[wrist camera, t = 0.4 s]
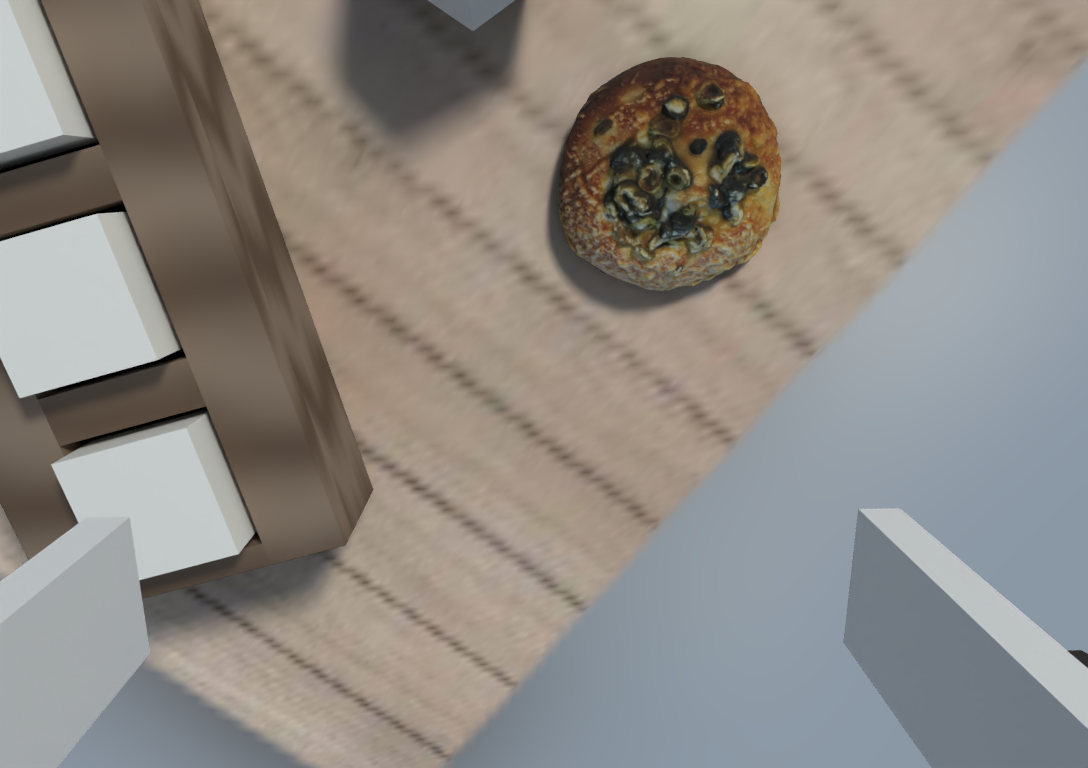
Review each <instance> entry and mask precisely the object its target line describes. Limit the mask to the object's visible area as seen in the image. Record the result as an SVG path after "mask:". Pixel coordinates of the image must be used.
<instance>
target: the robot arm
mask: <svg viewBox="0 0 1088 768" xmlns="http://www.w3.org/2000/svg"><path fill="white" fill-rule="evenodd" d="M844 644H845V645H846V647H847V648H848V649H849V651H850V652H851V654H852V655H853V656H854V658H855V659H856V661H857V662H858V664H859V665H860V667H861V668H862V669H863V671H864V672H865V674H866V675H867V676H868V678H869V679H870V681H871V682H872V683H873V685H874V686H875V688H876V689H877V691H878V692H879V694H880V695H881V696H882V698H883V699H884V701H885V702H886V704H887V705H888V706H889V708H890V709H891V710H892V712H893V713H894V715H895V716H896V718H897V719H898V721H899V722H900V723H901V725H902V726H903V728H904V729H905V731H906V732H907V733H908V735H909V736H910V738H911V739H912V740H913V742H914V743H915V745H916V746H917V748H918V749H919V750H920V752H921V753H922V755H923V756H924V757H925V759H926V760H927V762H928V763H929V765H930V766H931V767H932V768H1088V654H1087V653H1085V652H1083V651H1081V650H1079V651H1078V650H1076V651H1067V650H1066V649H1065V648H1063V647H1062V646H1061V645H1060V644H1058V643H1057V642H1056V641H1055V640H1054V639H1053V638H1052V637H1050V636H1049V635H1048V634H1047V633H1046V632H1044V631H1043V630H1042V629H1041V628H1040V627H1039V626H1037V625H1036V624H1035V623H1034V622H1033V621H1032V620H1030V619H1029V618H1028V617H1027V616H1026V615H1025V614H1023V613H1022V612H1021V611H1020V610H1019V609H1017V608H1016V607H1015V606H1014V605H1013V604H1012V603H1010V602H1009V601H1008V600H1007V599H1006V598H1004V597H1003V596H1002V595H1001V594H1000V593H998V591H996V590H995V589H994V588H993V587H992V586H990V585H989V584H988V583H987V582H986V581H985V580H983V579H982V578H981V577H980V576H979V575H978V574H976V573H975V572H974V571H973V570H972V569H970V568H969V567H968V566H967V565H966V564H964V563H963V562H962V561H961V560H960V559H959V558H958V557H956V556H955V555H954V554H953V553H952V552H950V551H949V550H948V549H947V548H946V547H944V546H943V545H942V544H941V543H940V542H939V541H938V540H936V539H935V538H934V537H933V536H932V535H930V534H929V533H928V532H927V531H926V530H925V529H923V528H922V527H921V526H920V525H919V524H917V523H916V522H915V521H914V520H913V519H911V518H910V517H909V516H908V515H907V514H906V513H905V512H903V511H902V510H901V509H899V508H898V509H858V517H857V526H856V534H855V544H854V552H853V561H852V571H851V580H850V589H849V598H848V607H847V616H846V625H845V634H844ZM149 654H150V649H149V642H148V635H147V629H146V622H145V615H144V609H143V602H142V595H141V589H140V582H139V575H138V569H137V562H136V555H135V549H134V542H133V536H132V529H131V522H130V517H94V518H85V519H84V520H82V521H81V522H80V523H78V524H77V525H76V526H74V527H73V528H72V529H70V530H69V531H68V532H66V533H65V534H64V535H62V536H61V537H60V538H58V539H57V540H55V541H54V542H53V543H51V544H50V545H49V546H47V547H46V548H45V549H43V550H42V551H41V552H39V553H38V554H37V555H35V556H34V557H33V558H31V559H30V560H29V561H27V562H26V563H25V564H23V565H22V566H21V567H19V568H18V569H17V570H15V571H14V572H13V573H11V574H10V575H9V576H7V577H6V578H4V579H3V580H2V581H0V768H57V767H58V766H59V765H60V763H61V762H62V761H63V759H64V758H65V757H66V756H67V755H68V754H69V752H70V751H71V750H72V749H73V747H74V746H75V745H76V744H77V742H78V741H79V740H80V739H81V738H82V736H83V735H84V734H85V733H86V731H87V730H88V729H89V728H90V726H91V725H92V724H93V723H94V721H95V720H96V719H97V718H98V717H99V715H100V714H101V713H102V712H103V710H104V709H105V708H106V707H107V705H108V704H109V703H110V702H111V701H112V699H113V698H114V697H115V696H116V694H117V693H118V692H119V691H120V690H121V688H122V687H123V686H124V685H125V683H126V682H127V681H128V680H129V678H130V677H131V676H132V674H133V673H134V672H135V671H136V670H137V669H138V667H139V666H140V665H141V664H142V662H143V661H144V660H145V659H146V657H147V656H148V655H149Z"/></svg>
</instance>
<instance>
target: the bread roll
mask: <svg viewBox="0 0 1088 768" xmlns="http://www.w3.org/2000/svg"><path fill="white" fill-rule="evenodd" d="M776 138H777V129H776V127H775V125H774V123H773V121H772V120H771V119H770V118H769V117H768V113H767V112H766V110H765V108H764V106H763V105H762V102H761V99H760V97H759V95H758V94H757V93H756V91H755V90H754V89H753V87H752V86H751V85H750V84H749V83H748V82H744V81H742V80H741V79H739V78H737V77H736V76H735V75H733V74H732V73H731V72H730V71H728V70H727V69H725V68H723V67H721V66H719V65H714V64H709V63H706V62H702V61H697V60H695V59H690V58H684V57H682V58H676V57H666V58H659V59H655V60H651V61H648V62H644V63H641V64H639V65H636V66H634V67H632V68H630V69H628V70H626V71H624V72H622V73H621V74H619V75H617V76H616V77H614V78H613V79H611V80H610V81H608V82H607V83H605V84H604V85H602V86H601V87H600V88H598V89H597V90H596V91H595V92H593V93H592V94H591V95H590V96H589V98H588V100H587V102H586V103H585V104H584V106H583V107H582V108H581V110H580V112H579V113H578V115H577V118H576V121H575V123H574V126H573V128H572V131H571V133H570V136H569V138H568V141H567V146H566V149H565V151H564V156H563V162H562V166H561V170H560V181H559V194H558V197H559V202H558V207H559V214H560V220H561V223H562V226H563V229H564V232H565V235H566V239H567V241H568V243H569V245H570V247H571V249H572V251H574V252H575V253H576V254H577V256H578V257H582V258H584V259H585V260H586V261H587V262H588V263H590V264H592V265H594V266H596V267H597V268H598V269H600V271H601V272H603V273H607V274H608V275H610V276H613V277H615V278H617V279H619V280H622V281H625V282H629V283H632V284H634V285H637V286H640V287H642V288H644V289H648V290H659V291H664V290H672V289H674V288H677V287H681V286H695V285H697V284H699V283H700V282H702V281H704V280H705V281H708V280H712V279H713V278H714V277H716V276H717V275H719V274H721V273H723V272H724V271H725V270H730V269H731V268H732V267H733V266H734V265H737V264H742V263H745V262H747V261H748V260H749V259H750V258H752V257H753V256H754V255H755V254H756V253H757V252H758V250H759V249H760V248H761V246H762V241H763V240H764V238H765V237H766V235H767V233H768V230H769V227H770V224H771V223H772V222H774V221H776V218H777V213H778V210H779V199H778V190H779V186H780V179H781V174H780V170H781V158H780V156H779V149H778V144H777V141H776Z"/></svg>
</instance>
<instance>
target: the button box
mask: <svg viewBox="0 0 1088 768" xmlns="http://www.w3.org/2000/svg"><path fill="white" fill-rule="evenodd" d="M41 1H42V4H43V6H44V9H45V11H46V14H47V16H48V18H49V21H50V23H51V26H52V28H53V31H54V33H55V36H56V38H57V41H58V43H59V46H60V48H61V50H62V53H63V55H64V58H65V60H66V63H67V65H68V68H69V70H70V73H71V75H72V77H73V80H74V82H75V85H76V87H77V90H78V92H79V95H80V97H81V100H82V102H83V104H84V107H85V109H86V112H87V114H88V117H89V119H90V122H91V124H92V127H93V129H94V131H95V134H96V136H97V139H98V141H99V144H100V145H97V146H93V147H90V148H86V149H83V150H80V151H76V152H73V153H69V154H66V155H62V156H59V157H56V158H52V159H49V160H45V161H42V162H38V163H35V164H32V165H28V166H25V167H21V168H18V169H14V170H11V171H8V172H4V173H1V174H0V241H3V240H7V239H10V237H11V236H14V235H18V234H21V233H25V232H28V231H32V230H35V229H39V228H42V227H46V226H49V225H53V224H56V223H60V222H63V221H66V220H70V219H73V218H77V217H80V216H84V215H87V214H91V213H94V212H98V211H101V210H105V209H108V208H112V207H115V206H119V205H122V204H124V205H125V208H126V210H127V213H128V215H129V217H130V220H131V222H132V225H133V227H134V230H135V232H136V235H137V237H138V240H139V242H140V244H141V247H142V249H143V252H144V254H145V257H146V259H147V262H148V264H149V267H150V269H151V272H152V274H153V276H154V279H155V281H156V284H157V286H158V289H159V291H160V294H161V296H162V299H163V301H164V303H165V306H166V308H167V311H168V313H169V316H170V318H171V321H172V323H173V326H174V328H175V330H176V333H177V335H178V338H179V340H180V343H181V345H182V348H183V350H184V353H185V356H181V357H178V358H174V359H171V360H167V361H163V362H160V363H156V364H153V365H149V366H145V367H142V368H138V369H135V370H131V371H127V372H124V373H120V374H116V375H113V376H109V377H106V378H102V379H98V380H95V381H91V382H88V383H84V384H80V385H76V383H73V384H69V385H66V386H62V387H59V388H55V389H51V390H48V391H44V392H41V393H37V394H33V395H30V396H26V397H23V398H19V396H18V394H17V392H16V390H15V388H14V386H13V384H12V381H11V379H10V377H9V375H8V373H7V371H6V369H5V367H4V365H3V362H2V360H1V358H0V503H1V505H2V507H3V509H4V511H5V513H6V515H7V517H8V519H9V521H10V523H11V525H12V527H13V529H14V531H15V533H16V535H17V537H18V539H19V541H20V543H21V545H22V547H23V549H24V551H25V553H26V555H27V557H28V559H29V560H30V559H31V558H33V557H34V556H35V555H37V554H38V553H39V552H41V551H42V550H43V549H45V548H46V547H47V546H49V545H50V544H51V543H53V542H54V541H55V540H57V539H58V538H60V537H61V536H62V535H64V534H65V533H66V532H68V531H69V530H70V529H72V528H73V527H74V526H76V525H77V524H78V521H77V519H76V517H75V514H74V512H73V510H72V508H71V506H70V504H69V502H68V500H67V498H66V495H65V493H64V491H63V489H62V487H61V485H60V483H59V481H58V479H57V476H56V474H55V472H54V470H53V468H52V466H51V464H53V463H55V462H56V461H58V460H60V459H61V458H63V457H65V456H66V455H68V454H70V453H72V452H73V451H75V450H77V449H78V448H80V447H82V446H83V445H85V444H87V443H88V442H90V441H93V440H97V439H100V436H99V435H103V434H106V433H110V432H114V431H117V430H121V429H125V428H128V427H132V426H136V425H139V424H143V423H147V422H150V421H154V420H158V419H161V418H165V417H169V416H172V415H176V414H180V413H183V412H187V411H190V410H194V409H198V408H201V407H205V406H206V407H207V409H208V412H209V414H210V416H211V419H212V421H213V424H214V426H215V429H216V431H217V434H218V436H219V439H220V441H221V443H222V446H223V448H224V451H225V453H226V456H227V458H228V461H229V463H230V466H231V468H232V471H233V473H234V475H235V478H236V480H237V483H238V485H239V488H240V490H241V493H242V495H243V498H244V500H245V502H246V505H247V507H248V510H249V512H250V515H251V517H252V520H253V522H254V525H255V527H256V529H257V531H256V532H255V534H254V535H253V536H252V538H251V539H250V540H249V541H248V543H247V544H246V545H245V547H244V548H243V549H242V551H241V552H240V553H239V554H237V555H233V556H229V557H226V558H222V559H218V560H214V561H210V562H207V563H203V564H199V565H195V566H191V567H188V568H184V569H180V570H176V571H173V572H169V573H165V574H161V575H157V576H154V577H150V578H146V579H142V580H139V582H140V589H141V595H142V599H143V598H147V597H151V596H154V595H158V594H162V593H166V592H170V591H173V590H177V589H181V588H185V587H189V586H192V585H196V584H200V583H204V582H208V581H211V580H215V579H219V578H223V577H227V576H230V575H234V574H238V573H242V572H246V571H250V570H253V569H257V568H261V567H265V566H269V565H272V564H276V563H280V562H284V561H288V560H291V559H295V558H299V557H303V556H307V555H310V554H314V553H318V552H322V551H326V550H329V549H333V548H337V547H341V546H345V545H346V543H347V541H348V539H349V537H350V535H351V533H352V531H353V529H354V527H355V525H356V523H357V521H358V519H359V517H360V515H361V513H362V511H363V509H364V507H365V505H366V503H367V501H368V499H369V497H370V495H371V493H372V491H373V488H372V485H371V482H370V479H369V477H368V474H367V471H366V468H365V465H364V463H363V460H362V457H361V454H360V451H359V449H358V446H357V443H356V440H355V437H354V435H353V432H352V429H351V426H350V423H349V421H348V418H347V415H346V412H345V409H344V407H343V404H342V401H341V398H340V395H339V393H338V390H337V387H336V384H335V381H334V379H333V376H332V373H331V370H330V367H329V365H328V362H327V359H326V356H325V353H324V351H323V348H322V345H321V342H320V339H319V337H318V334H317V331H316V328H315V325H314V323H313V320H312V317H311V314H310V311H309V309H308V306H307V303H306V300H305V297H304V295H303V292H302V289H301V286H300V283H299V281H298V278H297V275H296V272H295V269H294V267H293V264H292V261H291V258H290V255H289V253H288V250H287V247H286V244H285V241H284V239H283V236H282V233H281V230H280V227H279V225H278V222H277V219H276V216H275V213H274V211H273V208H272V205H271V202H270V199H269V197H268V194H267V191H266V188H265V185H264V183H263V180H262V177H261V174H260V171H259V169H258V166H257V163H256V160H255V157H254V155H253V152H252V149H251V146H250V143H249V141H248V138H247V135H246V132H245V129H244V127H243V124H242V121H241V118H240V115H239V113H238V110H237V107H236V104H235V101H234V99H233V96H232V93H231V90H230V87H229V85H228V82H227V79H226V76H225V73H224V71H223V68H222V65H221V62H220V59H219V57H218V54H217V51H216V48H215V45H214V43H213V40H212V37H211V34H210V31H209V29H208V26H207V23H206V20H205V17H204V15H203V12H202V9H201V6H200V3H199V1H198V0H41Z"/></svg>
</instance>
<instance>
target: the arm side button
mask: <svg viewBox="0 0 1088 768" xmlns="http://www.w3.org/2000/svg"><path fill="white" fill-rule="evenodd" d="M96 142H99V141H98V139H97V136H96V134H95V131H94V129H93V127H92V124H91V122H90V119H89V117H88V114H87V112H86V109H85V107H84V104H83V102H82V100H81V97H80V95H79V92H78V90H77V87H76V85H75V82H74V80H73V77H72V75H71V73H70V70H69V68H68V65H67V63H66V60H65V58H64V55H63V53H62V50H61V48H60V46H59V43H58V41H57V38H56V36H55V33H54V31H53V28H52V26H51V23H50V21H49V18H48V16H47V14H46V11H45V9H44V6H43V4H42V1H41V0H0V170H3V169H7V168H10V167H14V166H17V165H20V164H24V163H27V162H31V161H34V160H38V159H41V158H44V157H48V156H51V155H55V154H58V153H62V152H65V151H68V150H72V149H75V148H79V147H82V146H85V145H89V144H92V143H96Z"/></svg>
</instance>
